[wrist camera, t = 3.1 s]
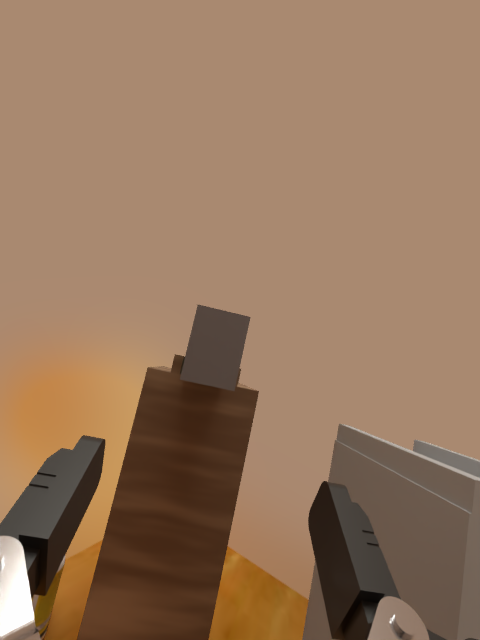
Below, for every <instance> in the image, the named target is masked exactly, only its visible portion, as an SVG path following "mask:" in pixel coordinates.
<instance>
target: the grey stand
mask: <svg viewBox="0 0 480 640" xmlns="http://www.w3.org/2000/svg"><path fill="white" fill-rule="evenodd" d="M328 482H332V483H337V484H343V485H345V486H346V488H347V490H348V493H349V495H350V498H351V501H352V502H355V503H358V504H359V505H360V507H361V508H362V509H363V511H364V512H365V513H366V515H367V516H368V518H369V520H370V523H371V525H372V528H373V530H374V535H376V538H377V540H378V543H379V548H381V550H382V553H383V555H384V558H385V560H386V563H387V565H388V568H389V570H390V573H391V575H392V578H393V580H394V583H395V586H396V588H397V591H398V593H399V596H400V598H401V600H402V601H404V602H405V603H407V604H408V605H409V606H410V607H411V608H412V609H413V610H414V611H415V612H416V613H417V614H418V616H419V617H420V618H421V620H422V621H423V623H424V625H425V627H426V629H428V630H430V631H431V632H433V633H435V634H437V635H439V636H441V637H443V638H445V639H447V640H465V639H467V638H475V639H478V640H480V460H477V459H474V458H471V457H468V456H465V455H462V454H459V453H456V452H453V451H451V450H448V449H445V448H442V447H439V446H436V445H432V444H430V443H427V442H424V441H418V440H414V447H413V451H411V450H409V449H406V448H404V447H401V446H399V445H396V444H394V443H391V442H389V441H386V440H384V439H381V438H379V437H376V436H374V435H371V434H369V433H366V432H364V431H361V430H358V429H356V428H354V427H351V426H348V425H343V424H339V428H338V434H337V440H335V444H334V450H333V456H332V463H331V468H330V474H329V480H328ZM302 640H337V639H332V637H331V632H330V627H329V623H328V618H327V613H326V608H325V603H324V599H323V594H322V589H321V584H320V579H319V575H318V570H317V565H316V560H315V566H314V572H313V579H312V584H311V590H310V597H309V602H308V609H307V615H306V621H305V627H304V633H303V639H302Z"/></svg>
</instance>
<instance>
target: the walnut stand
mask: <svg viewBox="0 0 480 640" xmlns="http://www.w3.org/2000/svg"><path fill="white" fill-rule="evenodd" d="M184 360H185V357H184V356H180V355H175V357H174V361H173V365H172V368H168V367H164V366H163V367H148V368H147V372H146V376H145V381H144V384H143V388H142V392H141V395H140V399H139V403H138V407H137V411H136V415H135V419H134V423H133V426H132V430H131V434H130V438H129V442H128V446H127V450H126V454H125V457H124V461H123V465H122V469H121V473H120V476H119V480H118V484H117V488H116V492H115V496H114V500H113V504H112V507H111V511H110V515H109V519H108V523H107V527H106V530H105V535H104V538H103V542H102V546H101V550H100V553H99V557H98V561H97V565H96V569H95V573H94V577H93V580H92V584H91V588H90V592H89V596H88V600H87V604H86V607H85V611H84V615H83V619H82V623H81V627H80V630H79V634H78V638H77V640H208V638H209V633H210V629H211V624H212V619H213V614H214V609H215V604H216V599H217V594H218V589H219V584H220V580H221V575H222V570H223V565H224V560H225V555H226V550H227V545H228V540H229V535H230V530H231V525H232V521H233V516H234V511H235V506H236V501H237V495H238V491H239V486H240V481H241V476H242V471H243V467H244V462H245V456H246V452H247V447H248V442H249V437H250V432H251V427H252V423H253V418H254V412H255V408H256V402H257V398H258V392H259V391H257V390H254V389H252V388H249V387H247V386H245V385H243V384H240V383H238V381H239V376H240V371H241V369H239V372H238V377H237V381H236V386H235V391H231V390H226V389H222V388H217V387H213V386H208V385H203V384H199V383H194V382H189V381H185V380H180V376H181V372H182V368H183V364H184Z"/></svg>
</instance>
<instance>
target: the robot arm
mask: <svg viewBox="0 0 480 640" xmlns="http://www.w3.org/2000/svg"><path fill="white" fill-rule="evenodd" d="M104 449H105V439H101V438H96V437H90V436H85V435H83V436H82V437H81V438H80V440H79V441H78V443H77V444H76V446H75V447H74V449H73V450H70V449H63V448H62V449H60V450H58V451H57V452H56V453H54V454H53V455H51V456H50V457H49V458H47V460H46V461H45V462H44V464H43V465H42V467H41V468H40V469H39V471H38V472H37V475H35V476H34V478H33V479H32V481H31V482H30V484H29V486H27V487H26V489H25V490H24V492H23V493H22V495H21V496H20V497H19V499H18V500H17V501H16V503H15V504H14V506H13V507H12V508H11V510H10V511H9V513H8V514H7V515H6V517H5V518H4V520H3V521H2V522H1V524H0V640H41V638H40V634H39V631H38V629H37V628H36V625H35V620H34V613H33V607H32V601H31V599H32V598H33V596H34V595H41V596H46V594H47V592H48V590H49V587H50V585H51V583H52V581H53V579H54V577H55V575H56V573H57V571H58V569H59V567H60V564H61V562H62V560H63V558H64V556H65V554H66V552H67V550H68V548H69V546H70V543H71V541H72V539H73V537H74V535H75V533H76V531H77V529H78V527H79V524H80V522H81V520H82V518H83V516H84V514H85V512H86V510H87V508H88V506H89V504H90V502H91V500H92V497H93V495H94V493H95V491H96V489H97V486H98V483H99V480H100V477H101V473H102V466H103V457H104ZM308 521H309V531H310V536H311V540H312V545H313V550H314V555H315V560H316V565H317V570H318V575H319V579H320V584H321V589H322V594H323V599H324V603H325V608H326V613H327V618H328V623H329V627H330V632H331V637H332V639H337V640H447V639H445V638H443V637H441V636H439V635H437V634H435V633H433V632H431V631H430V630H428V629H426V627H425V625H424V623H423V621H422V620H421V618H420V617H419V616H418V614H417V613H416V612H415V611H414V610H413V609H412V608H411V607H410V606H409V605H408V604H407V603H405V602H404V601H402V600H401V598H400V596H399V593H398V591H397V588H396V586H395V583H394V580H393V578H392V575H391V573H390V570H389V568H388V565H387V563H386V560H385V558H384V555H383V553H382V550H381V548H379V543H378V540H377V538H376V535H374V530H373V528H372V525H371V523H370V520H369V518H368V516H367V515H366V513H365V512H364V511H363V509H362V508H361V507H360V505H359V504H358V503H355V502H352V501H351V498H350V495H349V493H348V490H347V488H346V486H345V485H343V484H337V483H332V482H327V481H324V482H323V483H322V484H321V486H320V488H319V491H318V493H317V495H316V498H315V500H314V502H313V504H312V507H311V509H310V513H309V520H308ZM465 640H478V639H475V638H467V639H465Z"/></svg>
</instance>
